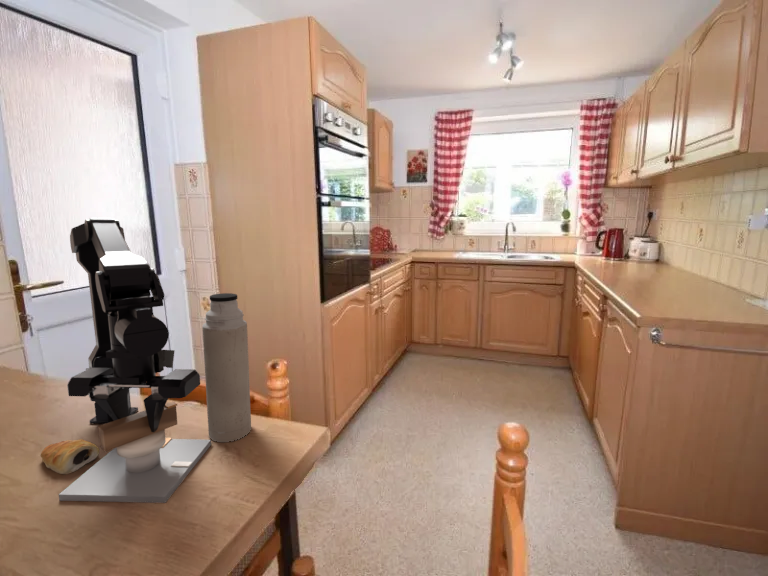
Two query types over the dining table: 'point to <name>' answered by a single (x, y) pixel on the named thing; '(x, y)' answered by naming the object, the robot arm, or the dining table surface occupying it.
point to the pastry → (69, 455)
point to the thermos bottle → (226, 369)
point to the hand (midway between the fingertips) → (140, 430)
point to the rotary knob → (137, 433)
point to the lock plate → (138, 474)
